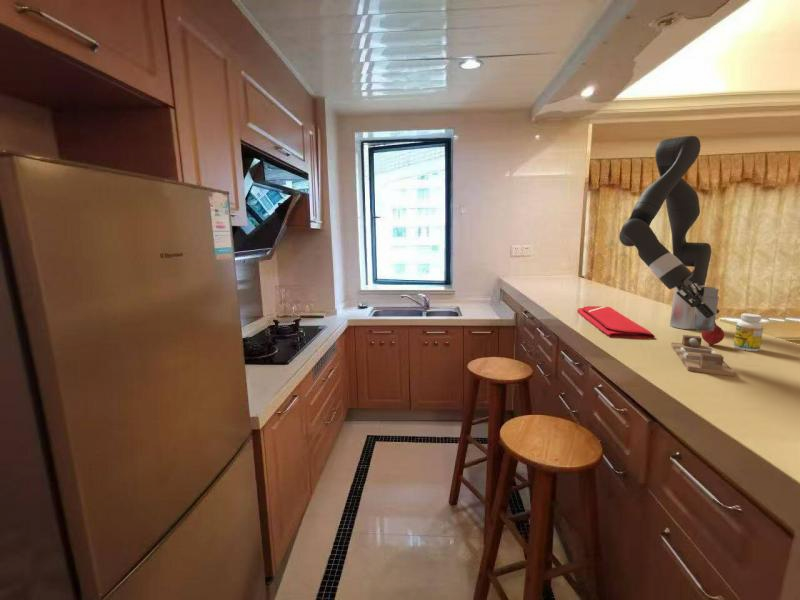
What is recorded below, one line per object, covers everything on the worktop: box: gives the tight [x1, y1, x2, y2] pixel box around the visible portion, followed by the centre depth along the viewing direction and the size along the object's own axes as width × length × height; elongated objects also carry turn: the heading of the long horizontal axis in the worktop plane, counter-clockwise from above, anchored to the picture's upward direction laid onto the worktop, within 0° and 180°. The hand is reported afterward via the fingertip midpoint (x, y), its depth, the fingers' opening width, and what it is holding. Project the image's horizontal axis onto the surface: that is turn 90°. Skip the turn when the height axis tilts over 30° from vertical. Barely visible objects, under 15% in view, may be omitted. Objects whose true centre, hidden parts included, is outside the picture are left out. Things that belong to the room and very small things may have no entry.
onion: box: [700, 322, 725, 346], centre depth 123 cm, size 6×6×8 cm
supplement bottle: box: [733, 312, 764, 352], centre depth 119 cm, size 6×6×11 cm
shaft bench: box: [670, 334, 736, 377], centre depth 111 cm, size 24×10×5 cm, turn 153°
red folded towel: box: [577, 305, 656, 340], centre depth 153 cm, size 16×41×4 cm, turn 170°
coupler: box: [693, 286, 720, 332], centre depth 108 cm, size 5×5×12 cm
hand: (713, 314), depth 107 cm, fingers closed on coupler, 4 cm apart
